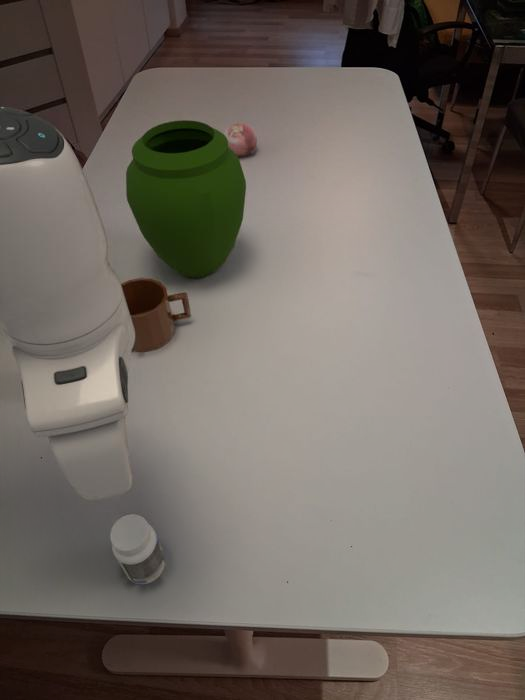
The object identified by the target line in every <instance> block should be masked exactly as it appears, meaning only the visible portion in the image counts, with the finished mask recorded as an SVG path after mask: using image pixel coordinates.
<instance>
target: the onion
mask: <svg viewBox="0 0 525 700" xmlns="http://www.w3.org/2000/svg"><path fill="white" fill-rule="evenodd" d="M223 134H224V135H225V136H226V138H227V140H228V147H229V148H230V149H231V150H232V151H233V152H234V153H235V154H236V155H237V156H238V158H241V157H247V156H248V155H250V154H251V153H252V152H253V151H254V150H255V148H256V147H257V144H258V137H257V132H256V131H255V129H254V128H253V127H252V126H251V125H249V124H247V123H243V122H238V123H237V122H236V123H233V124H230V125H229V126H228V127H226V129H225V130H224V133H223Z"/></svg>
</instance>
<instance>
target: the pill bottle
mask: <svg viewBox="0 0 525 700" xmlns="http://www.w3.org/2000/svg"><path fill="white" fill-rule="evenodd" d="M109 540H110V543H111V551H112V554H113V556H114V557H115V559H116V561H117V563H118V564H119V566H120V568H121V569H122V571H123V573H124V574H125V576H126V578H127V579H128V580H129V581H131V582H132V583H134V584H137V585H147V584H151V583H153V582H154V581H155V580H157V579H158V578H159V577H160V576H161V575H162V573H163V571H164V569H165V566H166V554H165V552H164V549H163V547H162V544H161V542H160V540H159V538H158V535H157V532H156V531H155V529H154V527H153V526H152V525H150V524H149V523H148V521H147V520H146V519H145V518H144V517H143V516H142V515H139V514H134V513H131V514H126V515H124V516H122V517H120V518H118V519H117V520H116V521H115V522H114V524H113V525H112V527H111V530H110V534H109Z"/></svg>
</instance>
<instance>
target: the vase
mask: <svg viewBox="0 0 525 700" xmlns="http://www.w3.org/2000/svg"><path fill="white" fill-rule="evenodd" d="M131 155H132V160H131V161H130V163H129V165H128V166H127V168H126V171H125V183H126V184H125V189H126V190H125V191H126V192H125V193H126V201H127V203H128V206H129V208H130V210H131V213H132V215H133V217H134V219H135V221H136V224H137V226H138V229H139V231H140V234H141V235H142V236H143V238H144V239H145V241H146V242H147V243H148V245H149V246H150V247H151V249H152V250H153V252H154V253H155V254H156V256H157V257H158V258H159V260H161V261H162V262H163V263H164V264H165V265H167V267H169V268H170V269H171V270H172V271H174V272H176V273H177V274H179V275H182V276H184V277H187V278H192V279H193V278H194V279H197V278H199V279H200V278H205V277H207V276H210V275H212V274H215V273H216V272H217V271H218V270H219V269H220V268H221V267H222V266H223V265H224V264H225V263H226V261H227V259H228V258H229V256H230V254H232V251H233V250H234V249H235V245H236V242H237V239H238V236H239V233H240V229H241V227H242V223H243V219H244V213H245V202H246V201H245V200H246V192H247V181H246V177H245V174H244V170H243V167H242V164H241V160H240V159H239V158H240V157H238V156H237V155H236V154H235V153H234V152H233V151H232V150H231V149H230V148H229V147H228V140H227V138H226V136H225V135H224V133H223V132H221V131H220V130H219V129H216V128H214V127H213V126H210V125H209V124H207V123H204V122H201V121H197V120H188V119H187V120H186V119H185V120H183V119H182V120H173V121H168V122H167V121H166V122H163V123H160V124H158V125H155V126H153V127H152V128H149V129H148V130H147V131H146V132H145V133H144V134H143V135H142V136H141V137H139V138H138V139H137V140H136V141H135V142H134V144H133V145H132V148H131Z"/></svg>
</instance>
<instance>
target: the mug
mask: <svg viewBox="0 0 525 700" xmlns="http://www.w3.org/2000/svg"><path fill="white" fill-rule="evenodd" d="M121 286H122V289H123V293H124V296H125V299H126V303H127V306H128V309H129V313H130V316H131V319H132V323H133V326H134V330H135V342H134V345H133V348H132V350H131V351H132V352H137V353H138V352H139V353H145V352H151V351H155V350H158V349H160V348H162V347H164V346H165V345H166V344H168V342H170V341H171V339H172V338H173V336H174V334H175V329H176V328H175V322H176V321H181V320H186V319H187V320H188V319H190V318H191V317H192V312H191V305H190V302H189V296H188V293H186V292H179V293H173V294H169V295H168V291H167V290H168V289H167V287H166V286H165V285H164V283H162V282H161V281H159V280H156V279H153V278H148V277H147V278H145V277H140V278H133V279H128V280H127V281H125V282H122V283H121ZM176 301H177V302H178V301H181V302H182V303H181V304H182V307H183V308H182V309H183V312H180V313H176V314H175V313H174V314H173V312H172V309H171V304H170V302H176Z"/></svg>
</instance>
